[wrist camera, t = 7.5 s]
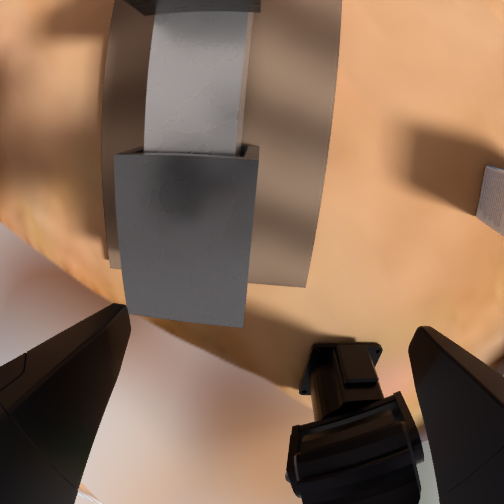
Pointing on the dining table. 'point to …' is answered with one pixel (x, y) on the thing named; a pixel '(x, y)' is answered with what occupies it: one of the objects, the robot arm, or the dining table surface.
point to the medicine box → (492, 199)
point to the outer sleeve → (186, 233)
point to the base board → (247, 124)
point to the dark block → (197, 74)
